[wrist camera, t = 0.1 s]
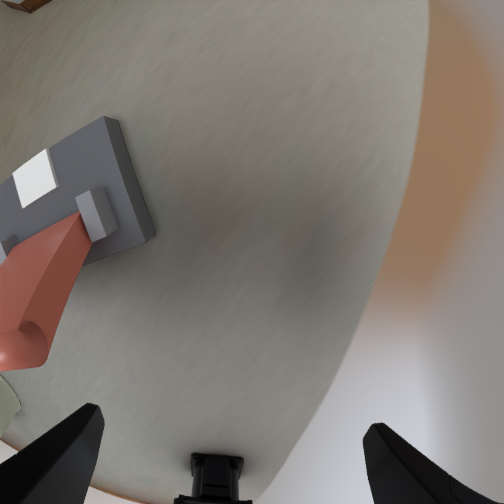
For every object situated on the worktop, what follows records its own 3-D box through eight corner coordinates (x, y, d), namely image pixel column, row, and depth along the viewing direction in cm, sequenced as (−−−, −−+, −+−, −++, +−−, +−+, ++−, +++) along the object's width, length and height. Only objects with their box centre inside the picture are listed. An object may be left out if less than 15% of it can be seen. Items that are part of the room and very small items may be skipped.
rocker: (97, 233, 17) (42, 375, 9) (26, 266, 18) (-26, 380, 9) (82, 209, 16) (9, 348, 8) (13, 247, 17) (-49, 359, 8)
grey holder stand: (156, 232, 21) (136, 251, 16) (34, 281, 21) (6, 302, 17) (118, 120, 18) (89, 112, 14) (2, 193, 19) (-30, 202, 14)
